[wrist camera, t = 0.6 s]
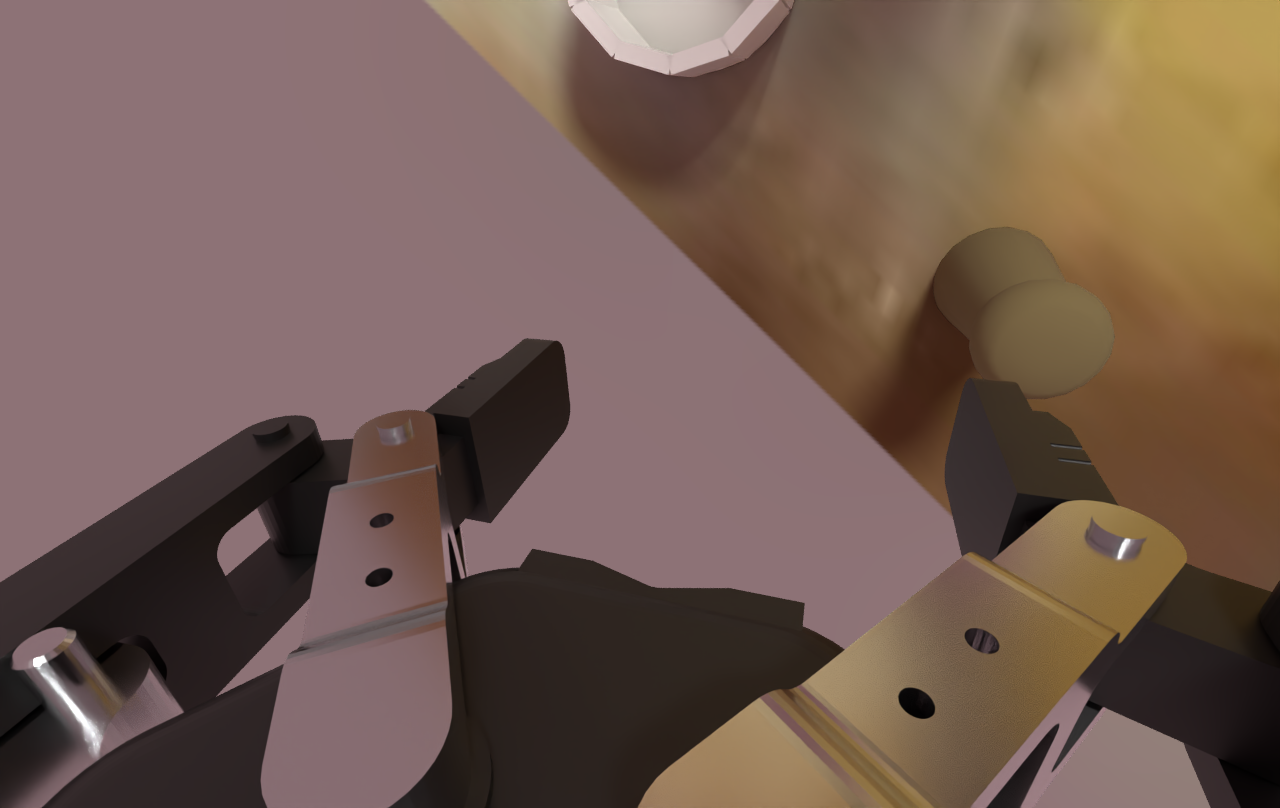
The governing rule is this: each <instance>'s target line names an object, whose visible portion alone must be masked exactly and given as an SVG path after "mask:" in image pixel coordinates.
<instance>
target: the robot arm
mask: <svg viewBox="0 0 1280 808" xmlns="http://www.w3.org/2000/svg"><path fill="white" fill-rule="evenodd" d="M569 416H570V401H569V391H568V382H567V373H566V364H565V355H564V350H563V347H562V345H561V343H560V342H558V341H550V340H540V339H528V338H527V339H524V340H522V341H521V342H520V343H519V344H518V345H516V346H515V347H514V348H513V349H512V350H510V351H509V352H508V353H506V354H505V355H504V356H503V357H501V358H500V359H497V360H495V361H493V362H491V363H488V364H486V365H483V366H482V367H480V368H479V369H478V370H476V371H475V372H474V373H473V374H471V375H470V376H469V377H468V379H465V380H464V381H463V382H461V383H460V384H459V385H458V386H457V388H454V389H452V390H451V391H450V392H449V393H447V394H446V395H445V396H444V397H442V398H441V399H440V400H438V401H437V402H436V403H435V404H433V405H432V406H431V407H430V408H428V409H427V410H426V411H425V412H424V411H419V410H402V411H396V412H391V413H387V414H384V415H381V416H378V417H376V418H374V419H372V420H370V421H368V422H366V423H365V424H363V425H362V426H361V427H360V428H359V429H358V430H357V431H356V433H355V435H354V439H345V440H344V439H343V440H325V441H322V440H321V438H320V435H319V432H318V429H317V426H316V424H315V421H314V420H312V419H311V418H309V417H306V416H296V415H295V416H283V417H278V418H273V419H269V420H266V421H263V422H260V423H257V424H255V425H252V426H250V427H248V428H246V429H245V430H243V431H241V432H240V433H238V434H236V435H235V436H233V437H232V438H230V439H228V440H227V441H225V442H223V443H222V444H220V445H219V446H217V447H215V448H214V449H212V450H211V451H209V452H207V453H206V454H204V455H203V456H201V457H200V458H198V459H196V460H195V461H193V462H192V463H190V464H189V465H187V466H185V467H184V468H182V469H180V470H179V471H177V472H176V473H174V474H172V475H171V476H169V477H168V478H166V479H164V480H163V481H161V482H160V483H158V484H156V485H155V486H153V487H152V488H150V489H149V490H147V491H145V492H144V493H142V494H141V495H139V496H138V497H136V498H134V499H133V500H131V501H130V502H128V503H126V504H125V505H123V506H121V507H120V508H118V509H117V510H115V511H114V512H112V513H110V514H109V515H107V516H105V517H104V518H102V519H101V520H99V521H97V522H96V523H94V524H93V525H91V526H90V527H88V528H86V529H85V530H83V531H82V532H80V533H78V534H77V535H75V536H74V537H72V538H70V539H69V540H67V541H66V542H64V543H62V544H61V545H59V546H58V547H56V548H54V549H53V550H52V551H50V552H48V553H47V554H45V555H43V556H42V557H40V558H38V559H37V560H35V561H34V562H32V563H30V564H29V565H27V566H26V567H24V568H22V569H21V570H19V571H18V572H16V573H15V574H13V575H11V576H10V577H8V578H7V579H5V580H4V581H2V582H0V808H1034V806H1035V805H1036V803H1037V802H1038V800H1039V799H1040V797H1041V796H1042V794H1043V793H1044V792H1045V790H1046V789H1047V788H1048V786H1049V785H1050V784H1051V782H1052V781H1053V780H1054V778H1055V777H1056V776H1057V774H1058V773H1059V772H1060V770H1061V769H1062V768H1063V766H1064V765H1065V764H1066V762H1067V761H1068V760H1069V758H1070V757H1071V756H1072V754H1073V753H1074V752H1075V750H1076V749H1077V748H1078V747H1079V745H1080V744H1081V743H1082V741H1083V740H1084V739H1085V737H1086V736H1087V734H1088V733H1089V732H1090V730H1091V729H1092V728H1093V727H1094V725H1095V724H1096V723H1097V721H1098V720H1099V719H1100V717H1101V716H1102V715H1103V713H1104V712H1105V710H1106V708H1107V709H1109V710H1112V711H1114V712H1116V713H1118V714H1120V715H1123V716H1125V717H1127V718H1129V719H1132V720H1134V721H1136V722H1138V723H1141V724H1143V725H1145V726H1148V727H1150V728H1152V729H1154V730H1157V731H1159V732H1161V733H1163V734H1165V735H1168V736H1170V737H1172V738H1174V739H1177V740H1179V741H1181V742H1183V743H1184V745H1185V748H1186V751H1187V753H1188V755H1189V758H1190V760H1191V762H1192V765H1193V767H1194V770H1195V772H1196V774H1197V777H1198V779H1199V781H1200V784H1201V786H1202V788H1203V791H1204V793H1205V795H1206V798H1207V800H1208V802H1209V805H1210V807H1211V808H1280V581H1279V582H1278V584H1277V585H1276V587H1275V589H1274V590H1273V592H1270V591H1267V590H1264V589H1261V588H1258V587H1255V586H1251V585H1248V584H1245V583H1242V582H1239V581H1236V580H1233V579H1229V578H1226V577H1223V576H1220V575H1217V574H1214V573H1211V572H1208V571H1205V570H1202V569H1199V568H1196V567H1194V566H1192V565H1189V564H1187V563H1185V562H1186V560H1187V554H1186V551H1185V548H1184V547H1183V545H1182V544H1181V542H1180V541H1179V540H1178V539H1177V538H1176V537H1175V536H1174V535H1173V534H1172V533H1171V532H1170V531H1168V530H1167V529H1166V528H1164V527H1163V526H1161V525H1160V524H1159V523H1157V522H1155V521H1153V520H1152V519H1150V518H1148V517H1146V516H1144V515H1142V514H1139V513H1137V512H1135V511H1132V510H1129V509H1127V508H1124V507H1120V506H1119V505H1118V504H1117V502H1116V501H1115V499H1114V497H1113V496H1112V494H1111V492H1110V491H1109V489H1108V488H1107V486H1106V484H1105V483H1104V481H1103V480H1102V478H1101V476H1100V475H1099V473H1098V471H1097V470H1096V468H1095V467H1094V465H1091V460H1090V459H1089V457H1088V455H1087V454H1086V452H1085V451H1084V450H1082V446H1081V444H1080V442H1079V441H1078V439H1077V438H1076V436H1075V434H1074V433H1073V431H1072V430H1071V428H1069V427H1068V426H1066V425H1065V424H1064V423H1062V422H1061V421H1059V420H1058V419H1057V418H1055V417H1054V416H1052V415H1051V414H1049V413H1048V412H1040V411H1032V409H1031V407H1030V405H1029V404H1028V402H1027V400H1026V398H1025V396H1024V394H1023V392H1022V391H1021V389H1020V387H1019V385H1018V384H1017V383H1016V382H1009V381H997V380H986V379H975V378H969V379H968V380H967V381H966V383H965V385H964V388H963V391H962V395H961V399H960V403H959V407H958V411H957V415H956V419H955V423H954V427H953V431H952V435H951V439H950V443H949V447H948V451H947V456H946V463H945V484H946V489H947V493H948V498H949V502H950V506H951V511H952V515H953V520H954V524H955V528H956V533H957V537H958V541H959V546H960V550H961V554H962V557H961V558H960V559H959V560H957V561H956V562H955V563H954V564H952V565H951V566H950V567H949V568H947V569H946V570H945V571H944V572H943V573H941V574H940V575H939V576H938V577H936V578H935V579H934V580H932V581H931V582H930V583H928V584H927V585H926V586H925V587H924V588H922V589H921V590H920V591H919V592H917V593H916V594H915V595H913V596H912V597H911V598H910V599H908V600H907V601H906V602H905V603H903V604H902V605H901V606H900V607H898V608H897V609H896V610H894V611H893V612H892V613H891V614H890V615H888V616H887V617H886V618H884V619H883V620H882V621H881V622H879V623H878V624H877V625H876V626H874V627H873V628H872V629H871V630H869V631H868V632H867V633H865V634H864V635H863V636H862V637H861V638H859V639H858V640H857V641H856V642H854V643H853V644H852V645H851V646H849V647H848V648H847V649H843V648H842V647H840V646H839V645H837V644H836V643H834V642H833V641H831V640H829V639H827V638H825V637H824V636H822V635H820V634H818V633H816V632H814V631H812V630H810V629H808V628H806V627H803V615H804V603H802V602H797V601H791V600H786V599H781V598H776V597H771V596H766V595H761V594H756V593H751V592H746V591H741V590H736V589H731V588H655V587H651V586H648V585H646V584H643V583H641V582H639V581H637V580H635V579H632V578H630V577H628V576H626V575H623V574H621V573H619V572H617V571H614V570H612V569H610V568H608V567H605V566H603V565H601V564H599V563H596V562H594V561H591V560H586V559H581V558H576V557H571V556H566V555H560V554H556V553H550V552H545V551H541V550H536V549H532V550H531V552H530V553H529V555H528V556H527V557H526V559H525V561H524V562H523V563H522V565H521V566H520V568H507V569H498V570H492V571H487V572H482V573H479V574H475V575H472V576H469V574H468V567H467V560H466V553H465V545H464V539H463V534H462V530H461V525H460V524H461V523H462V522H463V521H464V519H465V518H467V519H471V520H476V521H482V522H487V523H491V522H492V521H493V520H494V518H495V517H496V516H497V515H498V513H499V512H500V511H501V510H502V508H503V507H504V506H505V505H506V504H507V502H508V501H509V500H510V498H511V497H512V496H513V495H514V494H515V492H516V491H517V490H518V489H519V487H520V486H521V485H522V484H523V482H524V481H525V480H526V479H527V477H528V476H529V475H530V474H531V472H532V471H533V470H534V469H535V467H536V466H537V465H538V464H539V462H540V461H541V460H542V459H543V458H544V456H545V455H546V454H547V453H548V451H549V450H550V449H551V447H552V446H553V445H554V444H555V443H556V441H557V440H558V439H559V438H560V436H561V435H562V434H563V433H564V431H565V429H566V427H567V425H568V421H569ZM256 508H257V509H258V511H259V513H260V516H261V518H262V520H263V522H264V525H265V527H266V529H267V531H268V534H269V536H270V539H268V540H267V541H266V542H265V543H264V544H263V545H262V546H260V547H259V548H258V549H257V550H256V551H255V552H253V553H252V554H251V555H250V556H249V557H248V558H246V559H245V560H244V561H243V562H242V563H241V564H239V565H238V566H237V567H236V568H235V569H234V570H232V571H231V572H230V573H229V574H228V575H227V576H225V574H224V572H223V570H222V569H221V567H220V565H219V562H218V559H217V550H218V545H219V543H220V541H221V539H222V537H223V536H224V535H225V533H226V532H227V531H228V530H230V529H231V528H232V527H233V526H235V525H236V524H237V523H238V522H240V521H241V520H242V519H243V518H245V517H246V516H247V515H249V514H250V513H251V512H252V511H254V510H255V509H256ZM309 598H310V600H309V605H308V611H307V616H306V622H305V627H304V633H303V638H302V642H301V644H300V646H299V648H298V649H297V650H294V651H292V652H291V653H290V654H289V655H288V657H287V659H286V661H285V663H284V664H283V665H281V666H279V667H277V668H275V669H273V670H270V671H268V672H266V673H264V674H262V675H260V676H258V677H256V678H254V679H252V680H250V681H248V682H246V683H244V684H242V685H239V686H237V687H235V688H233V689H231V690H229V691H228V692H225V693H223V694H221V695H219V696H217V695H218V694H219V693H220V691H221V690H222V689H223V688H224V687H225V686H226V685H227V684H228V683H229V682H230V681H231V680H232V679H233V678H234V677H235V676H236V674H237V673H239V672H240V670H241V669H242V668H243V667H244V666H245V665H246V664H247V663H248V662H249V661H250V660H251V659H252V658H253V657H254V656H255V655H256V654H257V652H259V650H261V648H262V647H263V646H264V645H265V644H266V643H267V642H268V641H269V640H270V639H271V638H272V637H273V636H274V635H275V634H276V633H277V632H278V631H279V630H280V629H281V628H282V626H283V625H284V624H285V623H286V622H287V621H288V620H289V619H290V618H291V617H292V616H293V615H294V614H295V613H296V612H297V611H298V610H299V609H300V608H301V607H302V606H303V604H304V603H305V602H306V601H307V600H308V599H309ZM216 696H217V697H216Z"/></svg>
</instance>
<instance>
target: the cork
mask: <svg viewBox="0 0 1280 808" xmlns="http://www.w3.org/2000/svg"><path fill="white" fill-rule="evenodd" d="M933 294H934V298H935V301H936V304H937V307H938V309H939V310H940V311H941V312H942V314H943V315H944V316H945V317H946V319H947V320H948V321H949V322H950V323H951V324H953V325H954V326H955V327H956V328H957V329H958V330H959V331H960V332H961V333H962V334H963V335H965V336H966V337H967V338H968V339H969V340H970V341H969V350H970V354H971V357H972V360H973V364H974V366H975V368H976V370H977V371H978V372H979V374H980V375H981V376H982V377H983V379H986V380H997V381H1009V382H1016V383H1017V384H1018V385H1019V387H1020V389H1021V391H1022V392H1023V394H1024V396H1025V398H1026V399H1047V398H1051V397H1055V396H1060V395H1064V394H1067V393H1069V392H1071V391H1073V390H1075V389H1077V388H1079V387H1081V386H1083V385H1085V384H1086V383H1087V382H1088V381H1089V380H1091V379H1092V378H1093V377H1094V376H1095V375H1096V374H1097V373H1099V372H1100V371H1101V369H1102V368H1103V366H1104V365H1105V363H1106V361H1107V360H1108V358H1109V357H1110V355H1111V352H1112V347H1113V343H1114V338H1115V335H1114V330H1113V325H1112V320H1111V316H1110V313H1109V312H1108V310H1107V309H1106V308H1105V306H1104V305H1103V303H1102V302H1101V301H1100V299H1099V298H1098V297H1096V296H1095V295H1094V294H1092V293H1090V292H1089V291H1087V290H1085V289H1084V288H1082V287H1080V286H1079V285H1077V284H1074V283H1069V282H1066V281H1065V279H1064V277H1063V275H1062V273H1061V271H1060V269H1059V267H1058V265H1057V263H1056V261H1055V259H1054V257H1053V255H1052V253H1051V252H1050V251H1049V249H1048V248H1047V247H1046V245H1045V244H1044V243H1043V241H1042V240H1041V239H1039V238H1037V237H1036V236H1034V235H1032V234H1031V233H1029V232H1027V231H1024V230H1019V229H1015V228H1010V227H1003V228H991V229H986V230H983V231H981V232H978V233H975V234H972V235H970V236H968V237H967V238H965V239H964V240H962V241H961V242H959V243H958V244H956V245H955V246H954V247H952V249H951V250H950V251H949V252H948V253H947V255H946V256H945V257H944V258H943V259H942V261H941V262H940V265H939V267H938V269H937V272H936V274H935V276H934V287H933Z"/></svg>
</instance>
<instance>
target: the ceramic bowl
mask: <svg viewBox="0 0 1280 808" xmlns="http://www.w3.org/2000/svg"><path fill="white" fill-rule="evenodd" d="M793 3H794V0H568V4H569V7H572V9H571V11H572V12H573V13H574V14H575V15H576V16H577V18H578V19H579V20H580V21H581V22H582V23H583V24H584V26H585V27H586V28H587V29H588V30H589V31H590V33H591V34H592V35H593V36H594V37H595V38H596V40H597V41H598V42H599V43H600V44H601V45H602V47H603V48H604V49H605V50H606V51H607V52H608V54H609V55H610V56H611V57H614V59H616V60H620V61H623V62H627V63H630V64H633V65H637V66H640V67H643V68H647V69H650V70H653V71H657V72H660V73H663V74H667V75H674V76H685V77H696V76H699V75H702V74H705V73H709V72H713V71H717V70H722V69H724V68H727V67H729V66H732V65H734V64H736V63H739V62H742V61H745V58H746V59H748V58H749V57H750V56H751V54H752V53H753V52H754V51H756V50H757V49H758V48H759V47H760V46H761V45H762V44H763V43H765V42H766V41H767V40H768V39H769V38H770V36H771V35H772V34H773V33H774V32H775V30H776V29H777V28H778V27H779V25H780V24H781V22H782V21H783V19H784V18H785V17H786V16H787V15H788V14H789V13H790V12H789V10H790V9H792V6H793Z"/></svg>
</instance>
